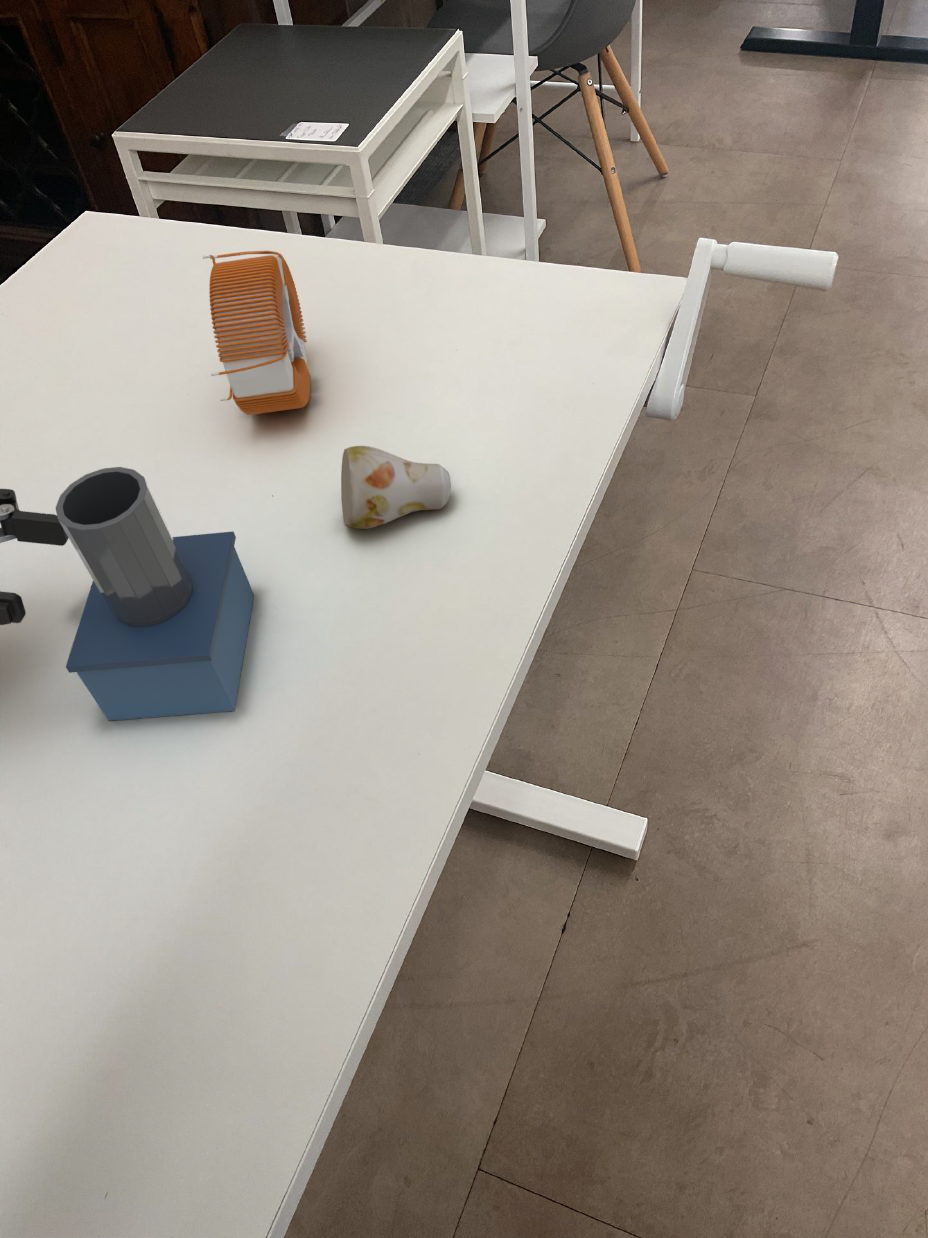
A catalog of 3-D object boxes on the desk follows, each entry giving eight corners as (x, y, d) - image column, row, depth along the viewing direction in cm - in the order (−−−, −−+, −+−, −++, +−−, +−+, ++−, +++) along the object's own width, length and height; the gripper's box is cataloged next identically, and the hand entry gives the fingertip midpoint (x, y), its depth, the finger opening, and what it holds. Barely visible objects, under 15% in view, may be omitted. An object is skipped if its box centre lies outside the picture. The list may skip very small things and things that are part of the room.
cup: (185, 623, 74) (135, 524, 66) (103, 630, 74) (45, 533, 67) (199, 562, 78) (154, 462, 70) (121, 569, 78) (68, 471, 71)
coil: (314, 352, 107) (278, 220, 96) (309, 441, 98) (269, 306, 86) (250, 361, 108) (207, 230, 97) (239, 451, 98) (190, 317, 87)
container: (238, 714, 77) (209, 655, 71) (103, 724, 78) (65, 667, 72) (258, 592, 85) (233, 530, 80) (137, 602, 86) (104, 543, 80)
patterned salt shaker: (470, 523, 88) (404, 473, 80) (380, 564, 92) (309, 521, 84) (459, 454, 91) (395, 399, 83) (372, 497, 95) (303, 448, 87)
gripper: (-264, 569, 64) (-8, 595, 64) (-150, 445, 74) (70, 467, 74) (-219, 653, 69) (18, 676, 69) (-119, 525, 79) (87, 546, 80)
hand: (45, 568), depth 72 cm, fingers open, 8 cm apart
